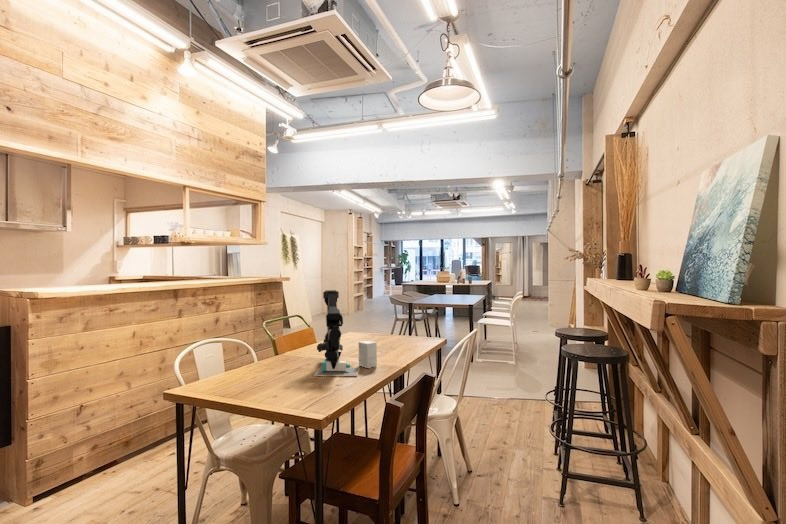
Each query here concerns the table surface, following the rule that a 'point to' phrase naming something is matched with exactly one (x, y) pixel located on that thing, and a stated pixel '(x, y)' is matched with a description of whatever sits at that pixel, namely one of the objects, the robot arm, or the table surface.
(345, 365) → the marker
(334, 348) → the robot arm
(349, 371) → the slate board
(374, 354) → the small box
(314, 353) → the table surface
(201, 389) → the table surface
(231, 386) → the table surface
